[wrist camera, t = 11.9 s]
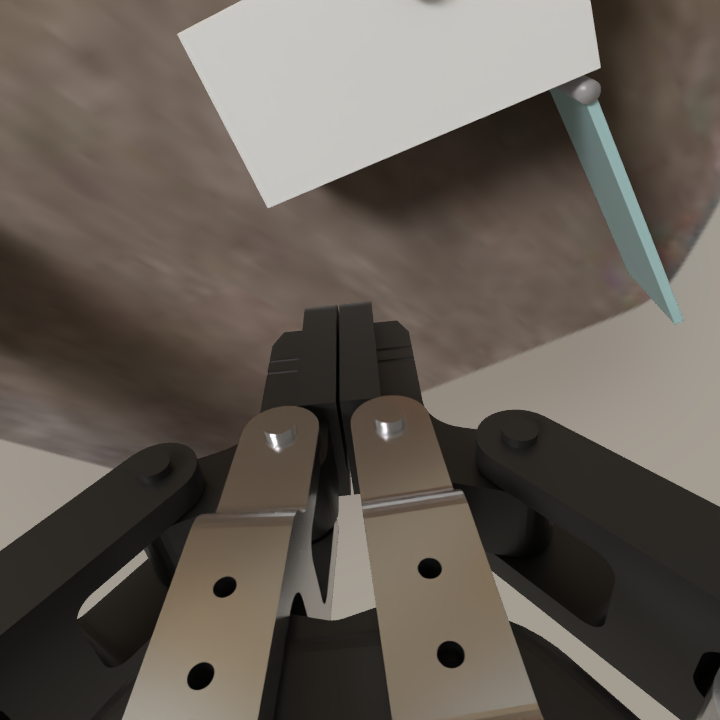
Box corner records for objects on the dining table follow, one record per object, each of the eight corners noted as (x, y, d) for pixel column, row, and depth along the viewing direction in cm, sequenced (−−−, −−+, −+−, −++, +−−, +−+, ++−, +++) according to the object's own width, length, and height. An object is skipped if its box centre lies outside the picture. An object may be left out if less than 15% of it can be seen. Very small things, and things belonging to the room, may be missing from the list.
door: (643, 264, 37) (695, 317, 31) (624, 274, 38) (672, 328, 32) (556, 51, 30) (602, 70, 24) (533, 66, 31) (574, 88, 25)
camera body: (285, 163, 34) (266, 214, 27) (217, 20, 30) (171, 35, 23) (584, 32, 30) (655, 51, 23) (554, -154, 26) (629, -202, 19)
